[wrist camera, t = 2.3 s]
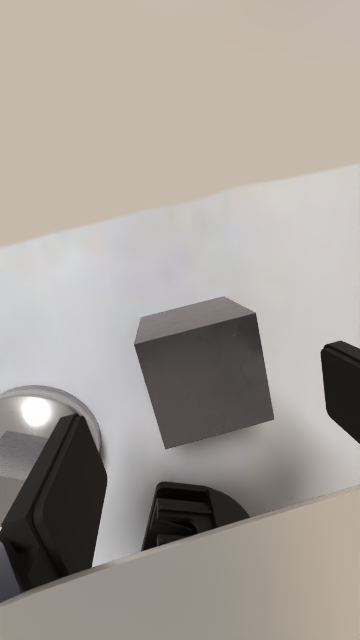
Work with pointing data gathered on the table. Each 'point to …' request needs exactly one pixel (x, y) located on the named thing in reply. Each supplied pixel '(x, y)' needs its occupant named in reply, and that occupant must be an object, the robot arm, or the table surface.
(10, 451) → the ratchet
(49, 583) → the robot arm
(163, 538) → the end cap
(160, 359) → the matte grey cube
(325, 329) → the table surface
